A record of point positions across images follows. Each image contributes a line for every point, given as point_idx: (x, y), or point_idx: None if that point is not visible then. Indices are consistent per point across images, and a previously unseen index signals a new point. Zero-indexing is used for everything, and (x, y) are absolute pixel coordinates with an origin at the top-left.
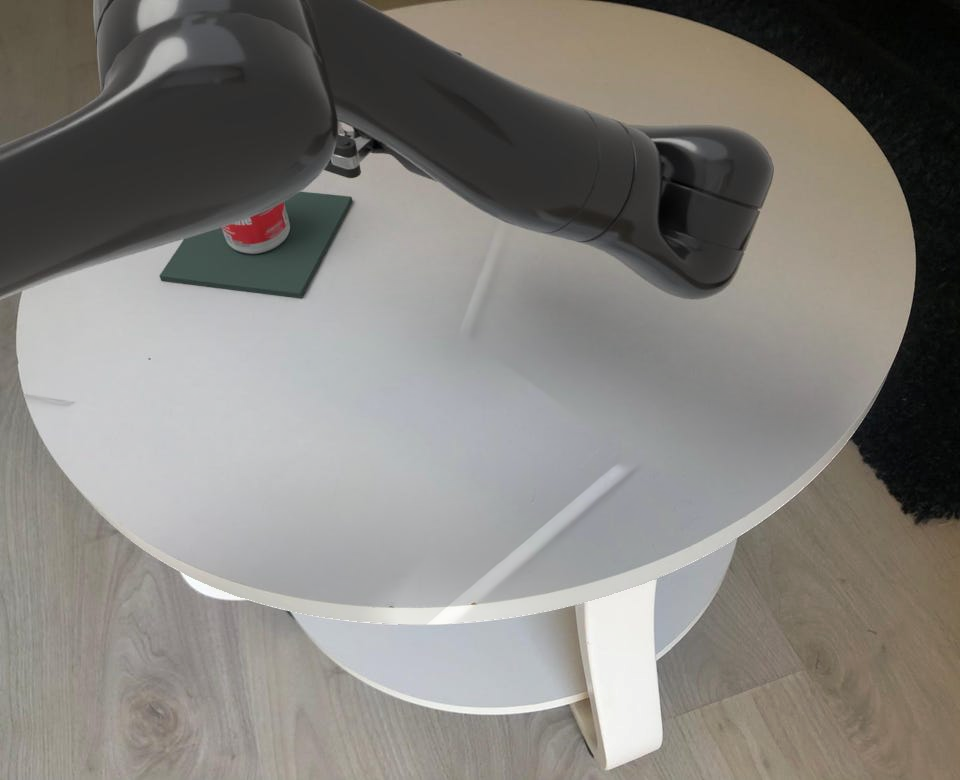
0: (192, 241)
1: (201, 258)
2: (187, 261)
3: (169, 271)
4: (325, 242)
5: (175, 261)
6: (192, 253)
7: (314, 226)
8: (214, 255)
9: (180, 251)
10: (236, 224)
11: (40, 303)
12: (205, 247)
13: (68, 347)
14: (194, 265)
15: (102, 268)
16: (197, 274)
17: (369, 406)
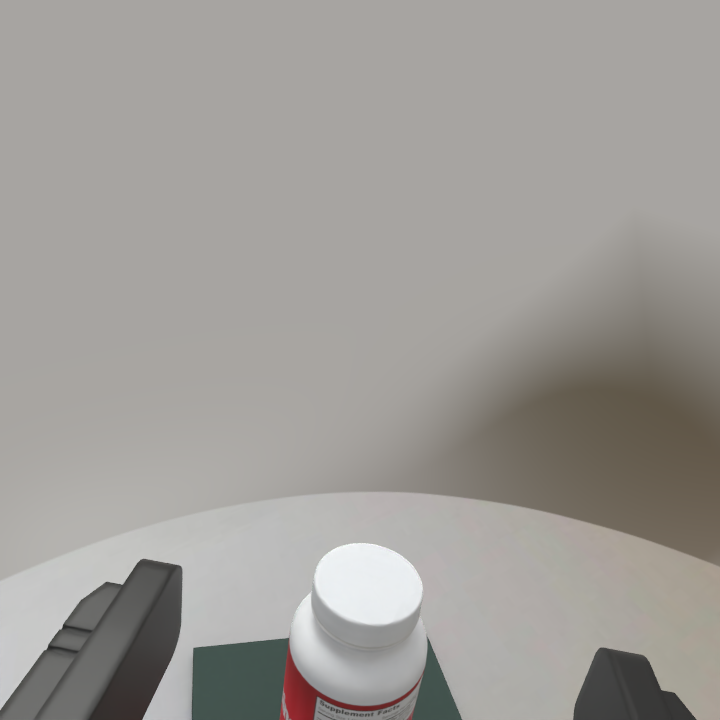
0: (284, 652)
1: (249, 687)
2: (236, 670)
3: (207, 656)
4: None
5: (232, 653)
6: (256, 667)
7: None
8: (261, 704)
9: (256, 648)
10: (283, 709)
11: (125, 542)
12: (277, 679)
13: (30, 611)
14: (229, 686)
15: (205, 572)
16: (208, 703)
17: None
